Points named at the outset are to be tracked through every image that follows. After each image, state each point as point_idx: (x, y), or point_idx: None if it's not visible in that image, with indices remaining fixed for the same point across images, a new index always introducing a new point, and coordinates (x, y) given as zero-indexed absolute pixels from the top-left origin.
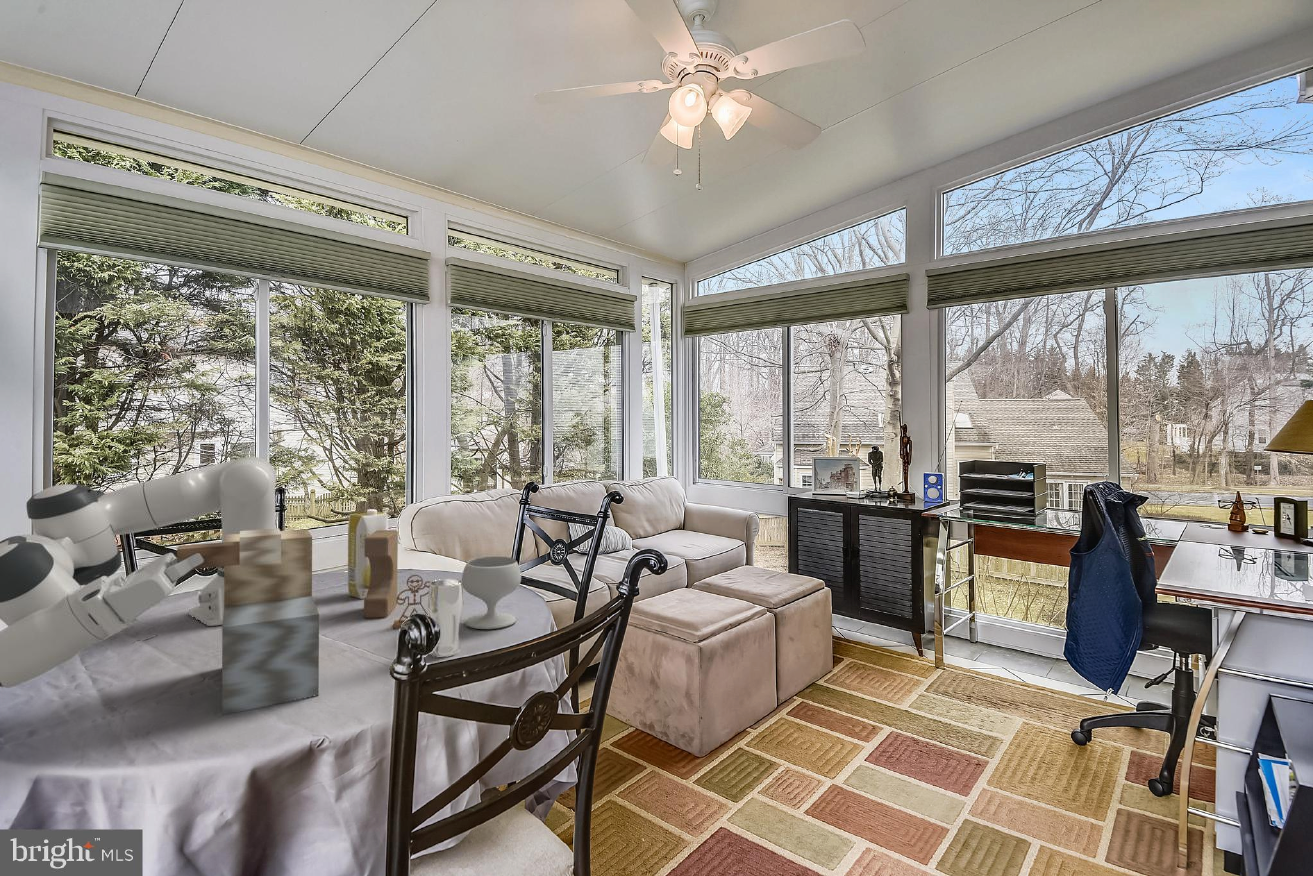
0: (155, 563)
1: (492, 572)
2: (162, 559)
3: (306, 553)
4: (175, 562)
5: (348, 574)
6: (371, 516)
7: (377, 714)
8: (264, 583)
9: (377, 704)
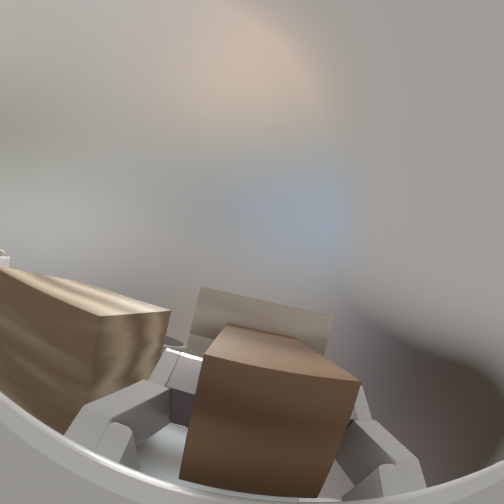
0: (15, 493)
1: (182, 352)
2: (32, 451)
3: (161, 343)
4: (129, 460)
5: None
6: (2, 257)
7: (331, 501)
8: None
9: (307, 499)
